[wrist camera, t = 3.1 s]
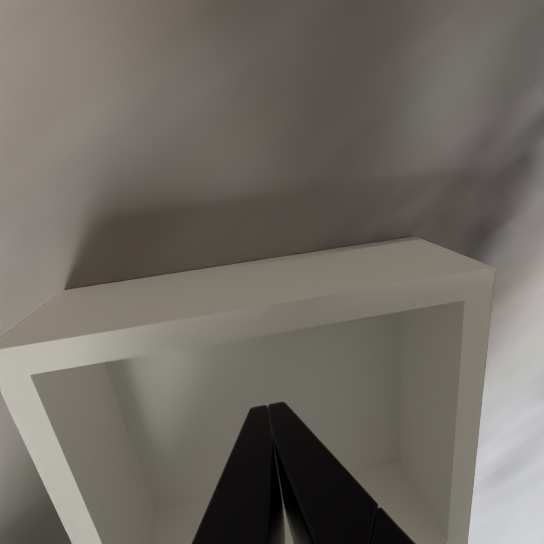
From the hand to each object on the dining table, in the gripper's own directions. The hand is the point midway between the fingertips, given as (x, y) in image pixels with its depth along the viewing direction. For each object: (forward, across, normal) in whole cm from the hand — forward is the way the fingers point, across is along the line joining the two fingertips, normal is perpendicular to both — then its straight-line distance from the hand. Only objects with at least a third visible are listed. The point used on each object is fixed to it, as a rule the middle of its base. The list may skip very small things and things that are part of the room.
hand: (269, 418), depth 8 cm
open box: (+8, 0, +5) cm, 10 cm away
